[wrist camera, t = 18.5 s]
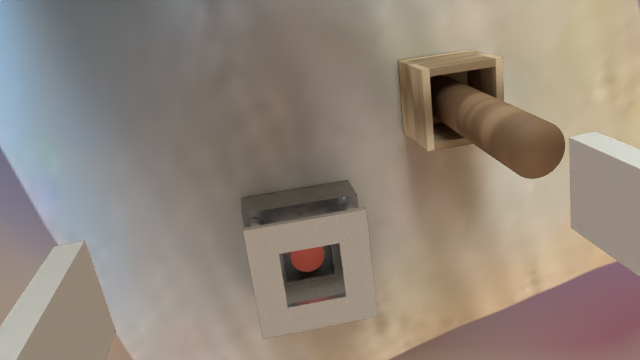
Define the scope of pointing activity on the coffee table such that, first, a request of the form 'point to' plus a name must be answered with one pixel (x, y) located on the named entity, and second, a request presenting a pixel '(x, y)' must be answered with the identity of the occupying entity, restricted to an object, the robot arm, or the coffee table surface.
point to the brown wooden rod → (498, 127)
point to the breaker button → (307, 258)
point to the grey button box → (304, 233)
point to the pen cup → (416, 92)
